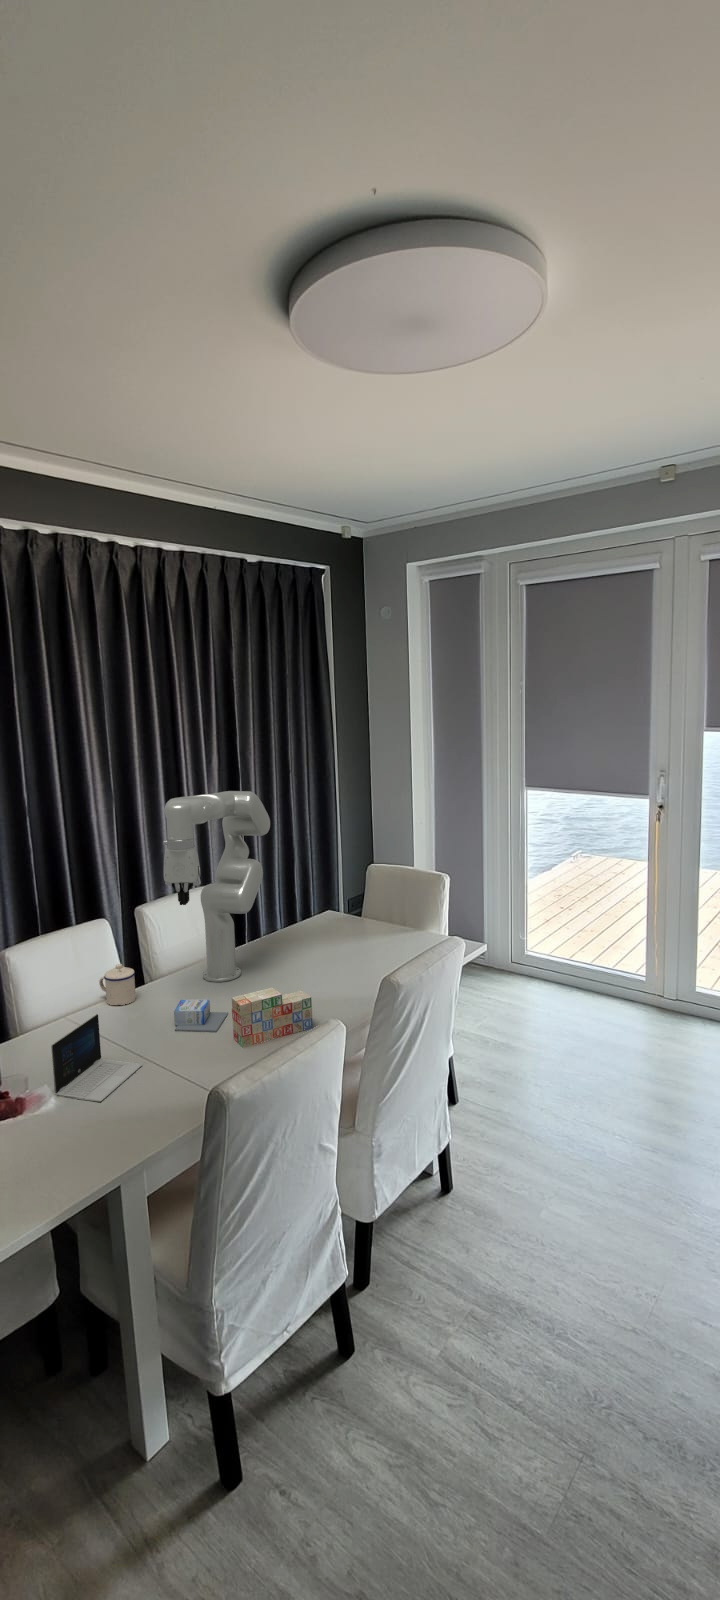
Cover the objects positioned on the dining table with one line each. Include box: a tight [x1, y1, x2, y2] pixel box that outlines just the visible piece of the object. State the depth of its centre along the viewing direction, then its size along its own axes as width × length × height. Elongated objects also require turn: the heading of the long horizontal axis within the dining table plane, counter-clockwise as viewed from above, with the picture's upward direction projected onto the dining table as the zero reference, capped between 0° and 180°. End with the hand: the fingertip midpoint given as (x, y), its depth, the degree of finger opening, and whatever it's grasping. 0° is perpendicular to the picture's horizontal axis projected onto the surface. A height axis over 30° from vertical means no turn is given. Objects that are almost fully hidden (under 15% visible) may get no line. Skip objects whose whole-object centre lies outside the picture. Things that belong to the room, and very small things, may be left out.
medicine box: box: [173, 999, 211, 1026], centre depth 214 cm, size 8×4×9 cm
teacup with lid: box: [98, 963, 137, 1006], centre depth 230 cm, size 12×9×12 cm
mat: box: [174, 1011, 229, 1033], centre depth 214 cm, size 12×12×1 cm
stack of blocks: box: [231, 987, 313, 1048], centre depth 205 cm, size 21×6×12 cm, turn 121°
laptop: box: [50, 1013, 143, 1103], centre depth 181 cm, size 18×12×13 cm
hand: (184, 903), depth 224 cm, fingers closed
